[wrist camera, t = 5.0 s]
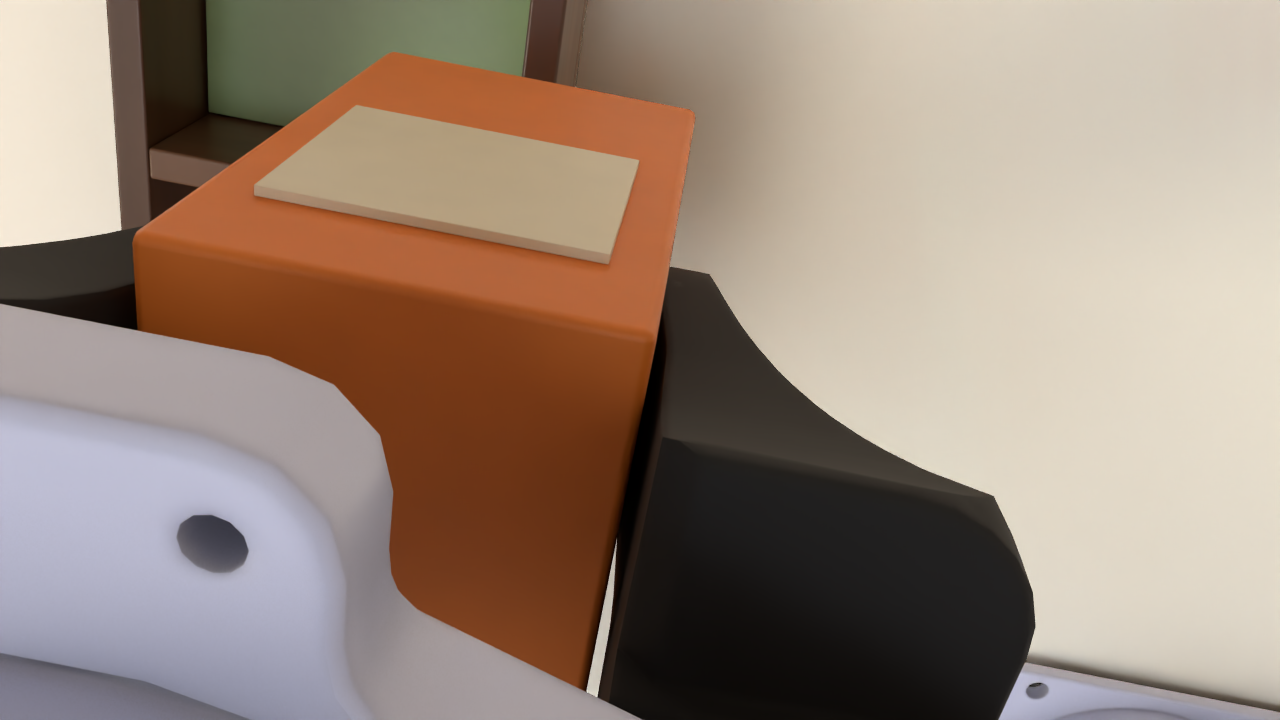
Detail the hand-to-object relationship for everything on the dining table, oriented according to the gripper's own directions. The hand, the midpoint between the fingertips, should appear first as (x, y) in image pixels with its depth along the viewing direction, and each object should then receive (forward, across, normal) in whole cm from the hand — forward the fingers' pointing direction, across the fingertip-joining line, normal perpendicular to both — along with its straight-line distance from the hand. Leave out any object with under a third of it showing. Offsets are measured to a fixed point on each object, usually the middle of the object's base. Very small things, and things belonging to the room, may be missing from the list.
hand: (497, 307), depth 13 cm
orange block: (+2, 0, 0) cm, 2 cm away
